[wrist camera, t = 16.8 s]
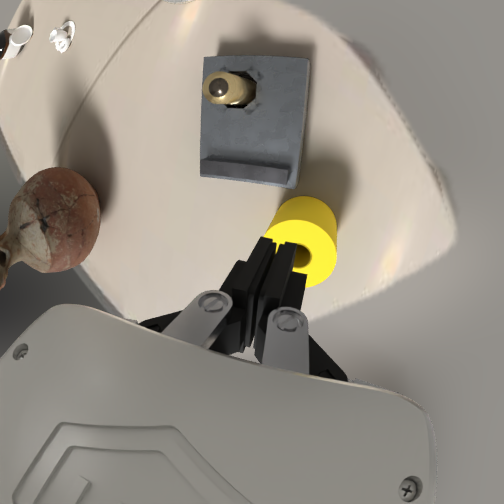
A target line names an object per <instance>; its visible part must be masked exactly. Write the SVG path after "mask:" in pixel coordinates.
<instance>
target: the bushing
mask: <svg viewBox="0 0 504 504" xmlns="http://www.w3.org/2000/svg"><path fill="white" fill-rule="evenodd" d="M256 88H257V85H256V83H255V82H253V81H252V80H249V79H246V78H243V77H240V76H236V75H233V74H230V73H226V72H222V71H218V72H214V73H212V74H210V75H209V76H208V77H207V78H206V79H205V81H204V83H203V88H202V90H203V94H204V96H205V98H206V99H207V100H208V101H209V102H211V103H214V104H250V103H251V102H252V101H253V100H254V99H255V98H256Z"/></svg>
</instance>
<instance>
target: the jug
mask: <svg viewBox="0 0 504 504" xmlns="http://www.w3.org/2000/svg"><path fill="white" fill-rule="evenodd" d="M99 204H100V202H99V199H98V194H97V192H96V191H95V189H94V188H93V186H92V185H90V184H89V182H88V181H87V180H86V179H85V178H84V177H83V176H81V175H80V174H78V173H77V172H75V171H73V170H70V169H67V168H62V167H54V168H48V169H45V170H42V171H39V172H38V173H36V174H35V175H33V176H32V177H31V178H30V179H29V180H28V181H27V182H26V183H25V184H24V185H23V186H22V188H21V189H20V190H19V192H18V193H17V194H16V196H15V197H14V199H13V201H12V202H11V205H10V209H9V216H8V227H7V229H6V231H5V232H4V233H3V234H2V235H1V236H0V289H1V288H2V287H4V285H5V279H6V277H7V275H8V269H9V268H10V266H11V265H12V264H14V263H16V262H18V261H24V262H25V263H26V264H28V265H30V266H31V267H32V268H34V269H36V270H38V271H39V272H43V273H48V272H60V271H64V270H67V269H70V268H73V267H75V266H77V265H78V264H80V263H81V262H83V261H84V260H85V258H86V257H87V256H88V255H89V254H90V252H91V250H92V248H93V246H94V244H95V242H96V239H97V236H98V233H99V228H100V207H99Z"/></svg>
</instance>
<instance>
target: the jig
mask: <svg viewBox="0 0 504 504" xmlns="http://www.w3.org/2000/svg"><path fill="white" fill-rule="evenodd" d="M310 65H311V64H310V62H309V59H306V58H296V57H282V56H255V55H240V56H213V57H204V65H203V82H202V88H203V83H204V81H205V79H206V78H207V77H208V76H209V75H210V74H212V73H214V72H218V71H222V72H226V73H230V74H233V75H236V76H238V75H239V74H249V75H250V76H251V77H252V78H253V79H254V80H255V81H256V82H257V88H256V98H255V99H254V100H253V101H252V102H251V103H250V104H248V105H247V106H246V107H245V108H237V107H236V106H235V105H234V104H214V103H211V102H209V101H208V100H207V99H206V98H205V96H204V94H203V90H202V104H201V138H200V176H202V177H211V178H220V179H228V180H236V181H244V182H251V183H258V184H265V185H271V186H278V187H284V188H290V189H295V188H296V186H297V184H298V182H299V174H300V166H301V158H302V149H303V140H304V131H305V121H306V111H307V100H308V89H309V78H310Z"/></svg>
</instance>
